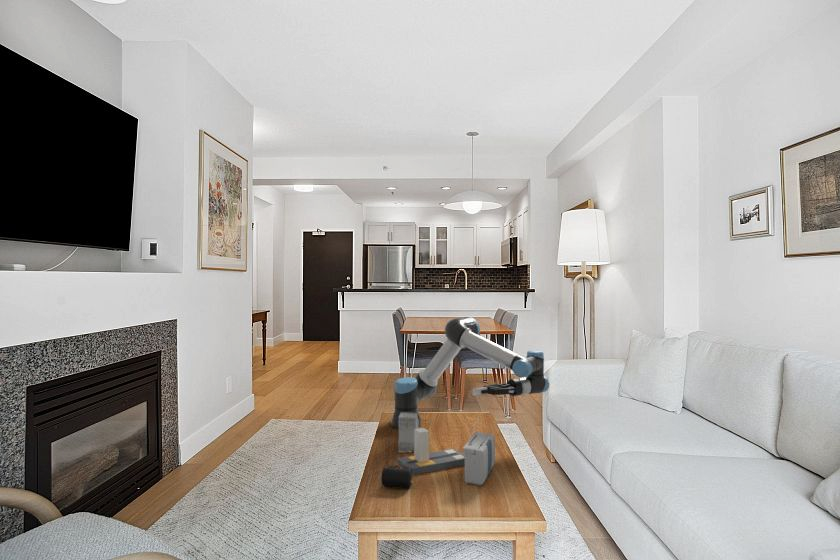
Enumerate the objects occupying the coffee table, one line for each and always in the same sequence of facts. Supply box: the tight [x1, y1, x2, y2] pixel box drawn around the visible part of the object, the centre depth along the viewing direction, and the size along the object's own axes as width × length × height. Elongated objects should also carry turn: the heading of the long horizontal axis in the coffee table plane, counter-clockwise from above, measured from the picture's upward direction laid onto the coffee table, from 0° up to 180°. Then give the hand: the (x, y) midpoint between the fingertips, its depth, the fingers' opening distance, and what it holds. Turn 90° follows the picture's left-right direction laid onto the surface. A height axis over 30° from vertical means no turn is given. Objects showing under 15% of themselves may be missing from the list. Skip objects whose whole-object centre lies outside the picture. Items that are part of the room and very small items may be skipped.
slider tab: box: [413, 427, 430, 463], centre depth 191 cm, size 5×4×12 cm
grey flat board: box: [396, 448, 465, 476], centre depth 193 cm, size 12×26×3 cm, turn 116°
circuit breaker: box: [397, 412, 420, 453], centre depth 214 cm, size 8×14×15 cm, turn 174°
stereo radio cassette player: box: [461, 415, 496, 487], centre depth 183 cm, size 21×8×20 cm, turn 160°
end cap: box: [380, 465, 413, 490], centre depth 172 cm, size 10×7×7 cm
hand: (473, 392), depth 208 cm, fingers closed
